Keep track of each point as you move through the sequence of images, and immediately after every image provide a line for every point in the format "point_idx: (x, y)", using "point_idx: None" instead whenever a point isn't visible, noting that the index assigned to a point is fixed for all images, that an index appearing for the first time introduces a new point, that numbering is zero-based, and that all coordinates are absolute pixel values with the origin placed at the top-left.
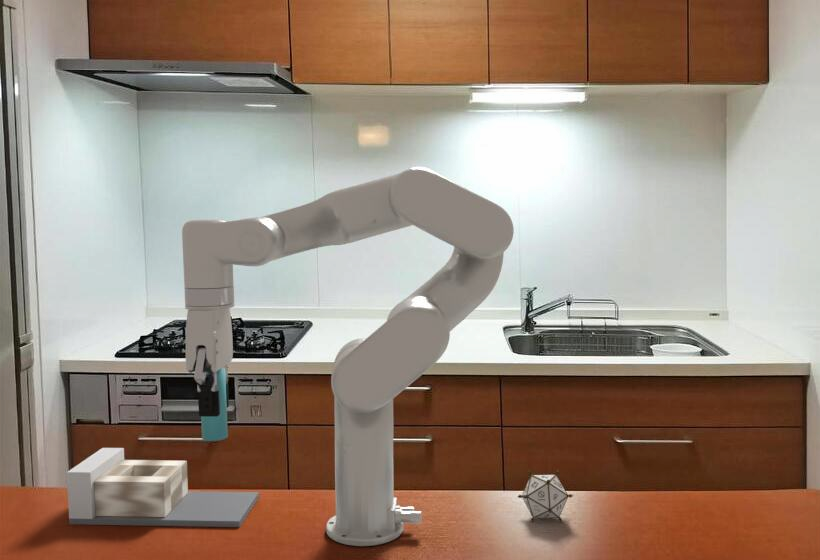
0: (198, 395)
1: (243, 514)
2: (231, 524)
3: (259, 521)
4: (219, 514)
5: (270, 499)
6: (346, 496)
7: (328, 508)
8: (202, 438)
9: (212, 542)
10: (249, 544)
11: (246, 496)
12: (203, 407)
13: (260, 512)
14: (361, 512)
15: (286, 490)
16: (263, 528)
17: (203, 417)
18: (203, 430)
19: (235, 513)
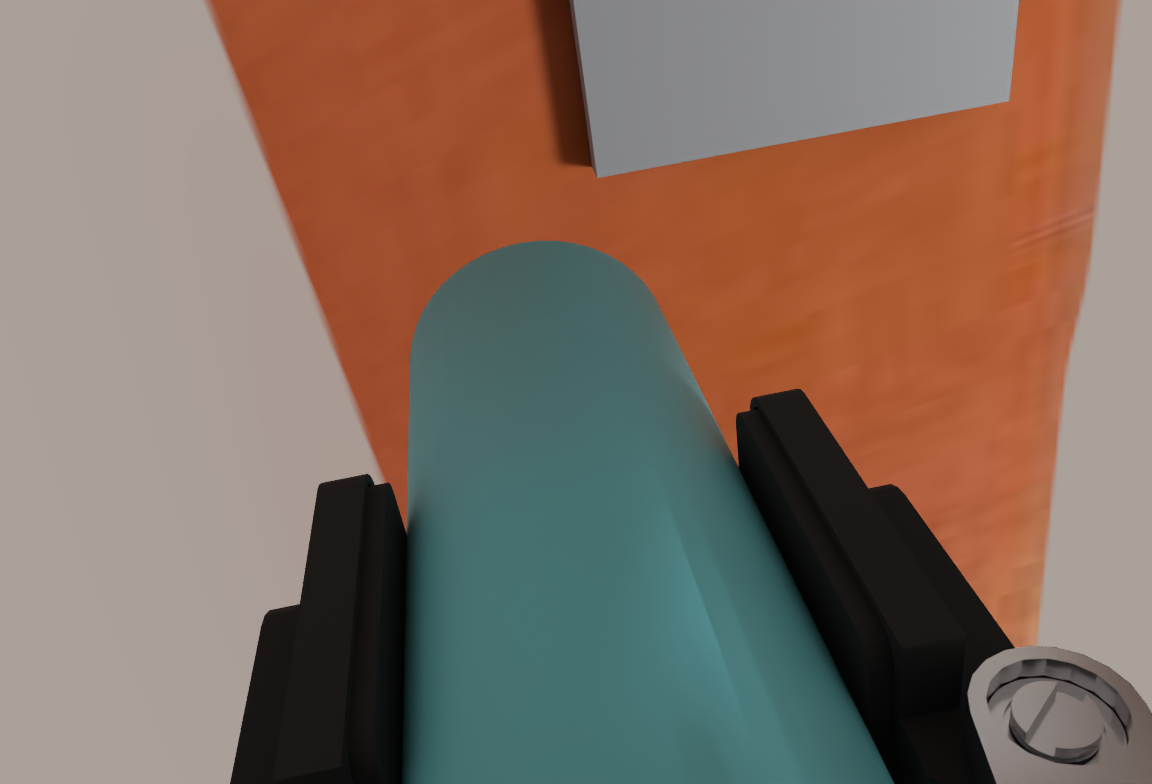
0: (287, 715)
1: (688, 158)
2: (588, 129)
3: (677, 232)
4: (669, 20)
5: (963, 165)
6: None
7: (851, 460)
8: (449, 281)
9: (386, 114)
10: (417, 300)
11: (943, 56)
12: (264, 657)
13: (788, 189)
14: None
15: (1085, 197)
16: None
17: (419, 455)
18: (424, 356)
19: (694, 108)
